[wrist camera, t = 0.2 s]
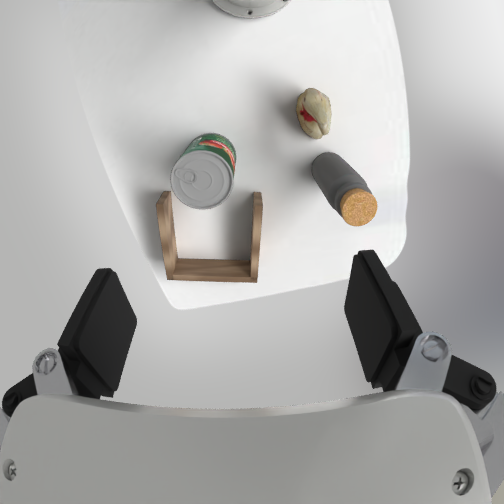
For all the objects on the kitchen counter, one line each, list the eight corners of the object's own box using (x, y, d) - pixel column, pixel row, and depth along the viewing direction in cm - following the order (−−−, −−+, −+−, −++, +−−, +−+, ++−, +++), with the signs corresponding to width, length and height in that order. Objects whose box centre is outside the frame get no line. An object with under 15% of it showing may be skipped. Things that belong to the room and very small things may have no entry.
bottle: (309, 184, 46) (334, 230, 33) (312, 151, 42) (340, 186, 30) (342, 185, 46) (376, 230, 34) (346, 153, 42) (385, 188, 30)
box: (163, 191, 46) (156, 204, 42) (261, 192, 46) (262, 205, 42) (172, 263, 54) (167, 279, 50) (256, 265, 55) (257, 282, 51)
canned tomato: (244, 143, 42) (243, 164, 33) (225, 186, 46) (220, 218, 37) (196, 126, 40) (181, 141, 31) (180, 170, 44) (163, 198, 35)
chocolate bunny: (333, 94, 37) (356, 99, 29) (322, 139, 41) (341, 157, 33) (298, 85, 36) (313, 87, 28) (288, 132, 41) (299, 148, 33)
